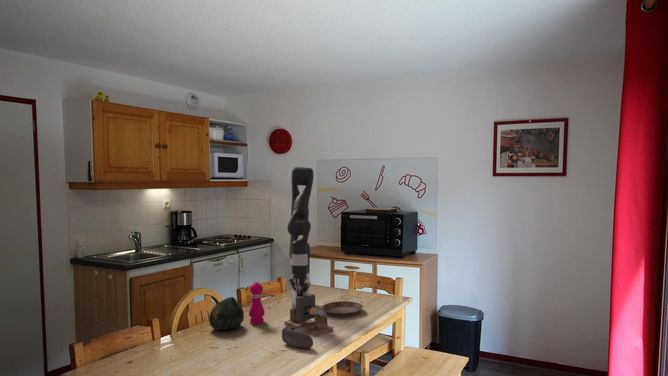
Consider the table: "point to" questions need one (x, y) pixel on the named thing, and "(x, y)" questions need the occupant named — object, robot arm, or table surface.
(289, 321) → the pipe stand
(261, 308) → the pepper mill
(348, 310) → the plant saucer
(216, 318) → the squash
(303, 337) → the perforated stone tool
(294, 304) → the pipe
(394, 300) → the table surface
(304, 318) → the collar
